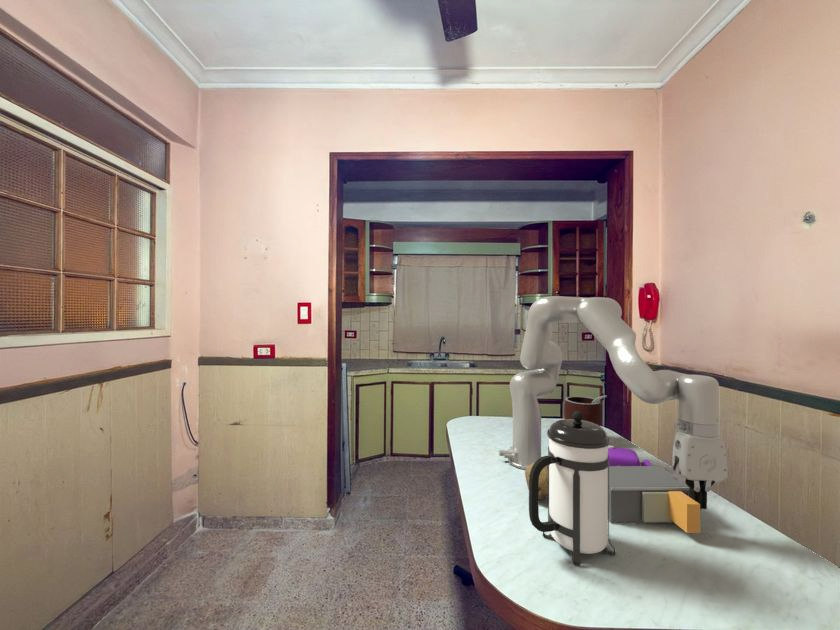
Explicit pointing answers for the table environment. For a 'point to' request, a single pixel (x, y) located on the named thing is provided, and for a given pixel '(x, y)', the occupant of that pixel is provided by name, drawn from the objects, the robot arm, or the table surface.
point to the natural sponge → (542, 480)
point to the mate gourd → (584, 408)
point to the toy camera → (624, 457)
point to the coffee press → (574, 487)
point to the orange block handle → (671, 509)
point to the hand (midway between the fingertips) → (698, 505)
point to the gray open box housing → (637, 490)
